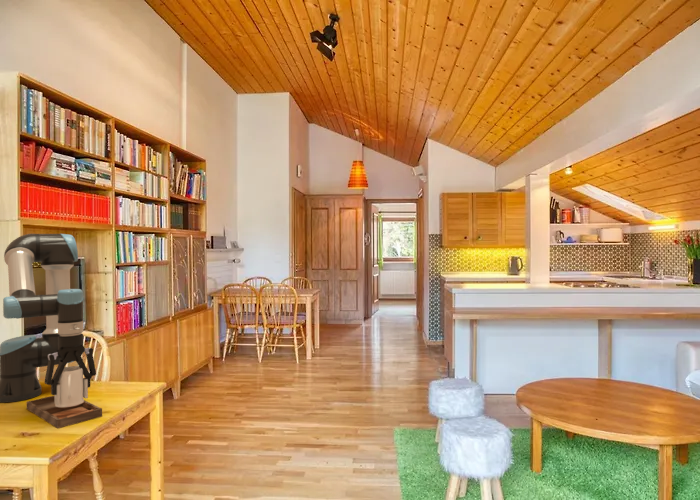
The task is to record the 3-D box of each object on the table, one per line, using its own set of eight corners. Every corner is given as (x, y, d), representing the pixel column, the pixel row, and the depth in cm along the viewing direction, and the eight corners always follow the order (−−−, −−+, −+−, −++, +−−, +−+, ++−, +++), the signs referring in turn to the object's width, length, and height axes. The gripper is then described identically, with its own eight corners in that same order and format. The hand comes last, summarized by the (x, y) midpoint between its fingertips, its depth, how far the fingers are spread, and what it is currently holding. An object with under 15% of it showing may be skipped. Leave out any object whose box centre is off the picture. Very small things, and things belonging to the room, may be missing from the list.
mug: (81, 408, 153) (81, 372, 153) (51, 412, 150) (51, 375, 150) (85, 398, 164) (85, 364, 164) (57, 401, 160) (57, 367, 160)
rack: (26, 408, 166) (26, 400, 166) (68, 399, 177) (68, 391, 177) (57, 428, 147) (57, 419, 147) (102, 416, 158) (102, 407, 158)
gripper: (39, 340, 147) (40, 411, 147) (107, 331, 163) (107, 395, 163) (31, 337, 152) (32, 406, 152) (98, 329, 168) (98, 391, 168)
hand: (71, 400), depth 157 cm, fingers closed on mug, 8 cm apart
